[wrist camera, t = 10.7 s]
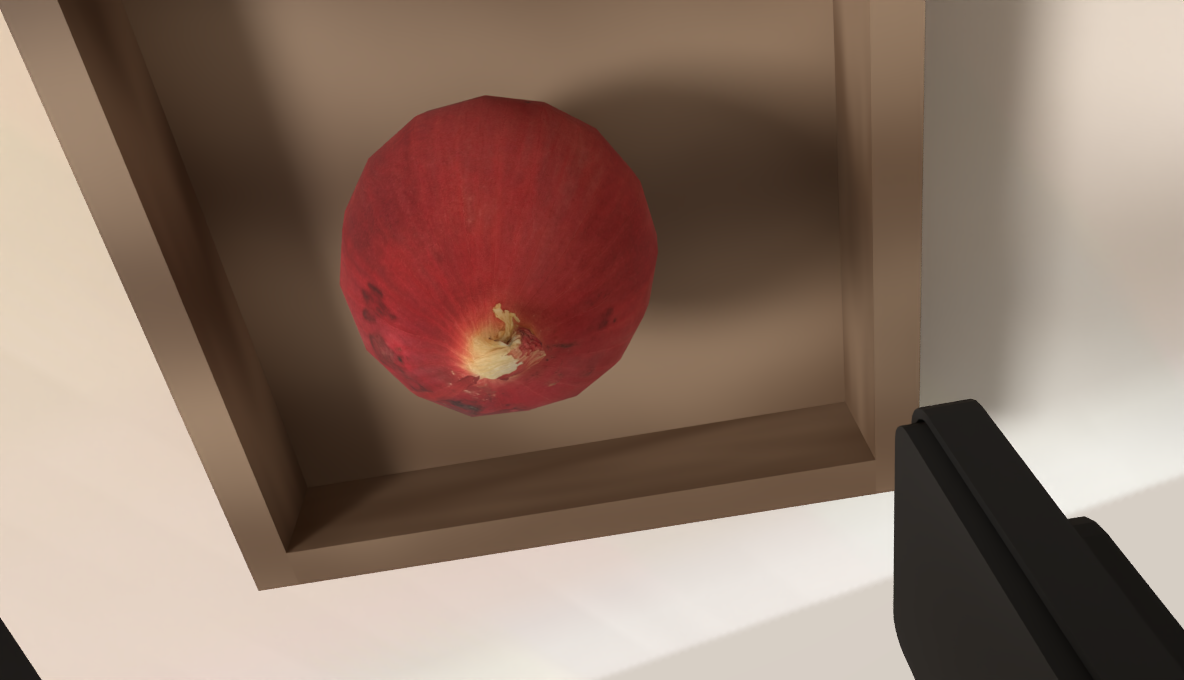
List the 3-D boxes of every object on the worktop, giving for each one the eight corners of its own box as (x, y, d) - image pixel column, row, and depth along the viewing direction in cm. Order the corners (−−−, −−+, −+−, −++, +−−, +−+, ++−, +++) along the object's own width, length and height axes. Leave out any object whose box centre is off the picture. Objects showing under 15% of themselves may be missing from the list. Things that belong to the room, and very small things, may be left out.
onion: (560, 343, 23) (574, 573, 16) (331, 244, 22) (237, 452, 15) (682, 132, 21) (759, 295, 14) (435, 4, 19) (383, 116, 12)
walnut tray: (33, -148, 18) (-66, -138, 15) (862, -299, 18) (930, -318, 15) (290, 499, 26) (258, 590, 23) (872, 405, 26) (918, 487, 23)
